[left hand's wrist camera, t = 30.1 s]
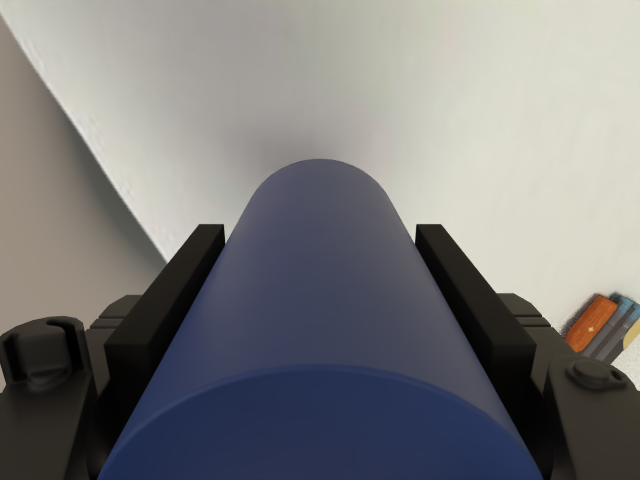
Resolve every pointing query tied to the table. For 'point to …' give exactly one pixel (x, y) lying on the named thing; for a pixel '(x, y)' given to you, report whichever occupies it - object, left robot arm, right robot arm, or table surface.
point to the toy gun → (605, 328)
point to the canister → (320, 355)
